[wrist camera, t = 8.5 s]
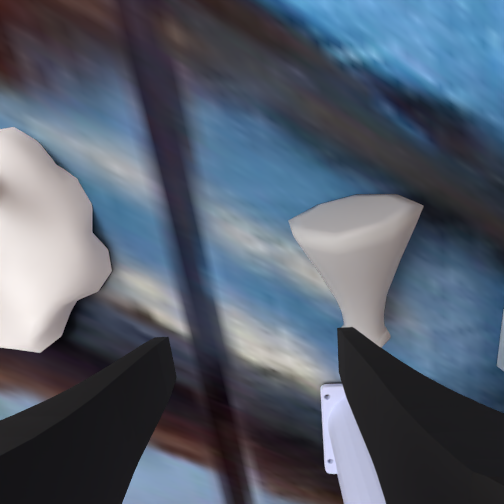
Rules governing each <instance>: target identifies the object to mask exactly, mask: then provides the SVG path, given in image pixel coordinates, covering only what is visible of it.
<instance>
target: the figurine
mask: <svg viewBox="0 0 504 504" xmlns="http://www.w3.org/2000/svg"><path fill="white" fill-rule="evenodd" d="M92 212H93V209H92V204H91V202H90V200H89V199H88V197H87V195H86V194H85V192H84V190H83V188H82V187H81V185H80V183H79V181H78V179H77V178H75V177H74V176H73V175H71V174H70V173H69V172H67V171H66V170H65V169H63V168H61V167H60V166H58V165H56V164H55V162H54V161H53V159H52V158H51V157H50V155H49V154H48V153H47V152H46V151H45V149H44V148H43V147H42V146H41V144H40V143H39V142H38V141H36V140H35V139H33V138H31V137H30V136H28V135H26V134H25V133H23V132H22V131H20V130H18V129H16V128H14V127H11V128H5V129H0V348H9V349H17V350H24V351H31V352H38V353H40V352H42V351H43V350H44V349H45V348H47V347H48V346H49V345H51V344H52V343H53V342H55V341H56V340H57V339H59V338H60V337H61V336H62V334H63V331H64V328H65V326H66V323H67V321H68V318H69V315H70V313H71V311H72V309H73V307H74V305H75V304H76V302H77V300H80V299H82V298H84V297H87V296H89V295H91V294H94V293H96V292H98V291H99V290H100V288H101V287H102V285H103V284H104V282H105V281H106V279H107V278H108V276H109V275H110V273H111V272H112V269H111V263H110V257H109V251H108V249H107V248H106V247H105V246H104V245H103V243H102V242H101V241H100V240H99V239H98V238H97V237H96V236H95V235H94V234H93V233H92Z"/></svg>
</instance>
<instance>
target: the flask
mask: <svg viewBox="0 0 504 504" xmlns="http://www.w3.org/2000/svg"><path fill="white" fill-rule="evenodd" d="M422 209H423V205H421V204H419V203H416V202H414V201H412V200H409V199H407V198H405V197H402V196H400V195H397V194H356V195H352V196H349V197H345V198H341V199H338V200H334V201H330V202H327V203H323V204H319V205H316V206H314V207H312V208H311V209H309V210H307V211H305V212H303V213H301V214H300V215H298V216H296V217H294V218H292V219H290V220H289V224H290V227H291V230H292V233H293V236H294V237H295V239H296V240H297V242H298V243H299V245H300V246H301V248H302V249H303V251H304V252H305V254H306V255H307V256H308V258H309V259H310V261H311V262H312V263H313V265H314V266H315V268H316V269H317V271H318V272H319V273H320V275H321V276H322V278H323V279H324V281H325V283H326V284H327V286H328V287H329V289H330V290H331V292H332V293H333V295H334V297H335V298H336V300H337V302H338V304H339V307H340V309H341V311H342V316H343V321H344V325H343V326H342V327H341V328H344V327H354V328H355V329H356V330H358V331H359V332H360V333H362V334H363V335H364V336H366V337H367V338H368V339H370V340H371V341H373V342H374V343H375V344H377V345H378V346H379V347H381V348H382V346H383V345H384V344H385V343H386V342H387V341H388V340H389V339H390V333H389V332H388V330H387V329H386V327H385V326H384V310H385V303H386V297H387V293H388V290H389V288H390V285H391V283H392V280H393V278H394V275H395V272H396V270H397V267H398V265H399V262H400V260H401V257H402V255H403V253H404V251H405V248H406V246H407V244H408V242H409V239H410V237H411V235H412V233H413V230H414V228H415V226H416V224H417V221H418V219H419V216H420V214H421V211H422Z"/></svg>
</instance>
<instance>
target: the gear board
mask: <svg viewBox="0 0 504 504" xmlns="http://www.w3.org/2000/svg"><path fill="white" fill-rule="evenodd" d="M497 366H498V367H499V368H500V369H501V370H503V371H504V311H503V319H502V327H501V335H500V343H499V352H498V360H497Z"/></svg>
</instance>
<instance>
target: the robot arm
mask: <svg viewBox="0 0 504 504" xmlns="http://www.w3.org/2000/svg"><path fill="white" fill-rule="evenodd" d="M337 333H338V361H339V374H340V377H341V381H342V384H324V385H322V386H321V388H320V392H321V410H322V428H323V446H324V463H325V470H326V472H327V473H330V474H338V479H339V483H340V488H341V492H342V497H343V501H344V504H504V413H501V412H499V411H497V410H494V409H492V408H489V407H487V406H485V405H483V404H480V403H478V402H476V401H474V400H472V399H469V398H467V397H465V396H463V395H461V394H459V393H457V392H455V391H453V390H451V389H449V388H447V387H445V386H443V385H441V384H439V383H437V382H435V381H433V380H432V379H430V378H428V377H426V376H424V375H423V374H421V373H419V372H417V371H416V370H414V369H412V368H411V367H409V366H408V365H406V364H405V363H403V362H401V361H400V360H398V359H397V358H395V357H394V356H392V355H391V354H389V353H388V352H386V351H385V350H384V349H382V348H381V347H379V346H378V345H377V344H375V343H374V342H373V341H371V340H370V339H368V338H367V337H366V336H364V335H363V334H362V333H360V332H359V331H358V330H356V329H355V328H354V327H344V328H337ZM175 381H176V372H175V367H174V362H173V357H172V352H171V347H170V343H169V338H168V337H157V338H153V339H151V340H149V341H148V342H146V343H144V344H143V345H141V346H139V347H138V348H136V349H135V350H133V351H132V352H130V353H128V354H127V355H125V356H124V357H122V358H121V359H119V360H117V361H116V362H114V363H113V364H111V365H109V366H108V367H106V368H104V369H103V370H101V371H99V372H98V373H96V374H94V375H93V376H91V377H89V378H88V379H86V380H84V381H83V382H81V383H79V384H77V385H75V386H73V387H72V388H70V389H68V390H66V391H64V392H62V393H60V394H58V395H56V396H54V397H52V398H50V399H48V400H46V401H44V402H41V403H39V404H37V405H35V406H33V407H30V408H28V409H26V410H24V411H21V412H19V413H17V414H15V415H13V416H10V417H8V418H5V419H3V420H0V504H122V502H123V499H124V497H125V494H126V492H127V489H128V487H129V484H130V481H131V479H132V476H133V474H134V471H135V469H136V467H137V465H138V462H139V460H140V458H141V456H142V454H143V452H144V450H145V448H146V446H147V444H148V442H149V440H150V438H151V436H152V434H153V432H154V430H155V428H156V426H157V424H158V422H159V420H160V418H161V415H162V413H163V411H164V409H165V407H166V405H167V403H168V401H169V398H170V395H171V393H172V390H173V387H174V384H175ZM327 394H328V396H325V395H327Z"/></svg>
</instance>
